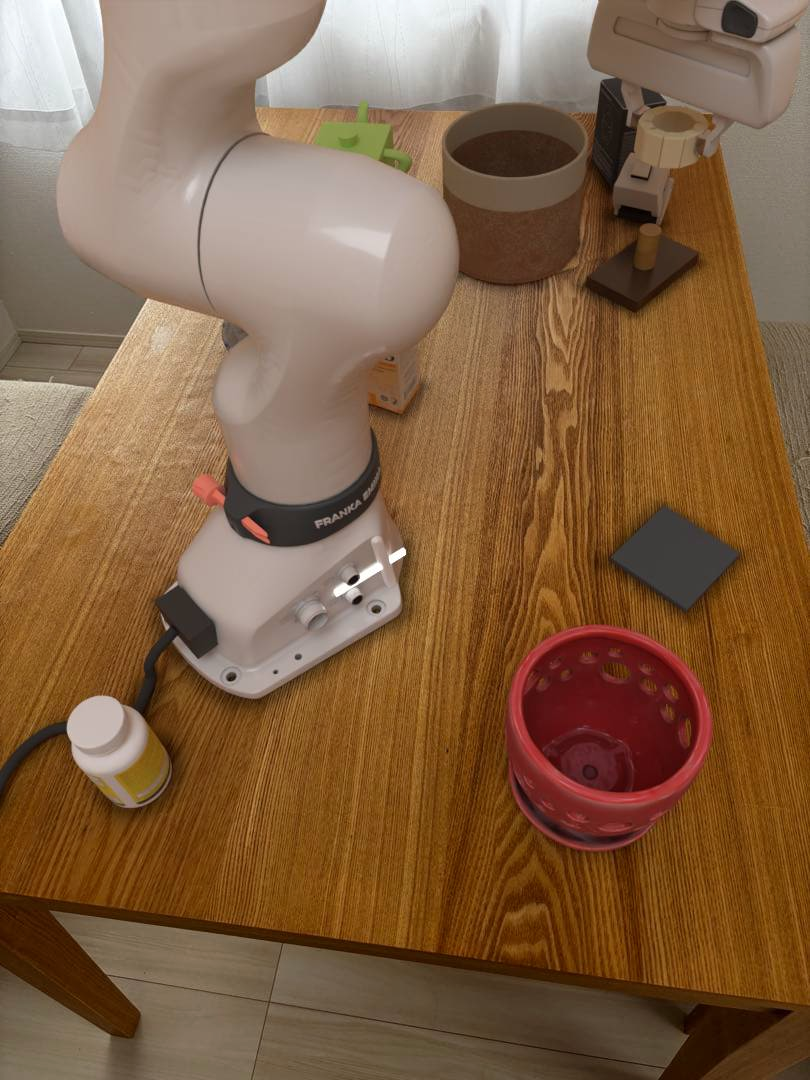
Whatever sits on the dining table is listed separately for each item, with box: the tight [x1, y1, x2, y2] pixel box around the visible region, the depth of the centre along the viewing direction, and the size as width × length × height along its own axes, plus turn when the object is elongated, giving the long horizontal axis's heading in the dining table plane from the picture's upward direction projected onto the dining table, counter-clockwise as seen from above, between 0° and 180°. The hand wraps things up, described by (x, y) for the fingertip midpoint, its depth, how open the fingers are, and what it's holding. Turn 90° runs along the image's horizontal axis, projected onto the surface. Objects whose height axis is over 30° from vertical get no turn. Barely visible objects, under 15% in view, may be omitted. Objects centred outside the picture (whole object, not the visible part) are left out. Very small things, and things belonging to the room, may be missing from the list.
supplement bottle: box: [66, 694, 173, 809], centre depth 64 cm, size 5×5×10 cm
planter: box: [441, 101, 589, 285], centre depth 100 cm, size 16×16×14 cm
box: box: [590, 77, 668, 190], centre depth 109 cm, size 8×6×11 cm
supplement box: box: [368, 342, 420, 415], centre depth 86 cm, size 8×5×13 cm, turn 64°
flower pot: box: [504, 624, 714, 853], centre depth 61 cm, size 13×13×12 cm
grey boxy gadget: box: [611, 153, 675, 226], centre depth 104 cm, size 6×7×10 cm
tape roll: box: [634, 105, 710, 169], centre depth 85 cm, size 6×7×3 cm
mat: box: [609, 505, 741, 614], centre depth 76 cm, size 8×8×1 cm
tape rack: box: [585, 223, 701, 314], centre depth 98 cm, size 12×7×6 cm, turn 135°
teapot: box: [312, 100, 413, 174], centre depth 107 cm, size 15×13×11 cm
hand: (670, 139), depth 86 cm, fingers closed on tape roll, 6 cm apart
